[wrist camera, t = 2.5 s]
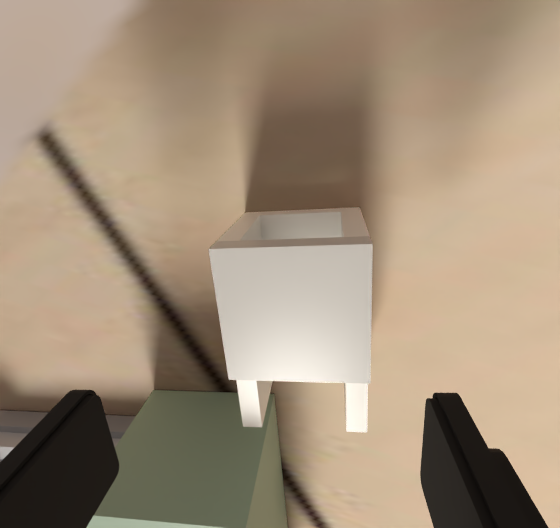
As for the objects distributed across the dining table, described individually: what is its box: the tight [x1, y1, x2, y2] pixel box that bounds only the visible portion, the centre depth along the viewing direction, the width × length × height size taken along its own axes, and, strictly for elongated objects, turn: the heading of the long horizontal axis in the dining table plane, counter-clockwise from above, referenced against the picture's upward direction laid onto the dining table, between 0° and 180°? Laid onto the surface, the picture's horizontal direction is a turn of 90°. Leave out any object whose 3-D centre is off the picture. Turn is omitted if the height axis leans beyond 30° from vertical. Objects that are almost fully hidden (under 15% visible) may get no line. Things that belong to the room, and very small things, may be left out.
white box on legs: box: [209, 207, 373, 432], centre depth 15 cm, size 8×5×5 cm, turn 4°
